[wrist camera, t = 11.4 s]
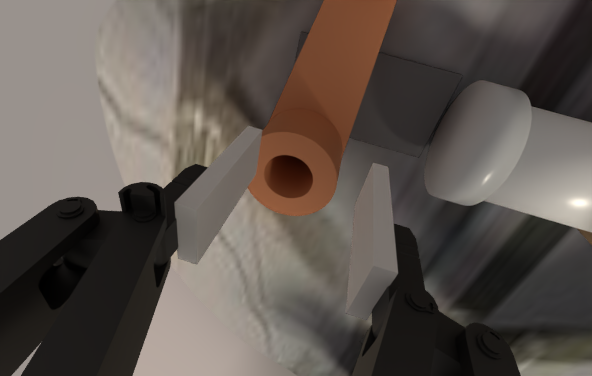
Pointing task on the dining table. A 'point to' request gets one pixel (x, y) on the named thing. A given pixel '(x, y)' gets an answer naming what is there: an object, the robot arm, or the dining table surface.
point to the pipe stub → (512, 157)
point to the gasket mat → (401, 103)
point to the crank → (319, 107)
